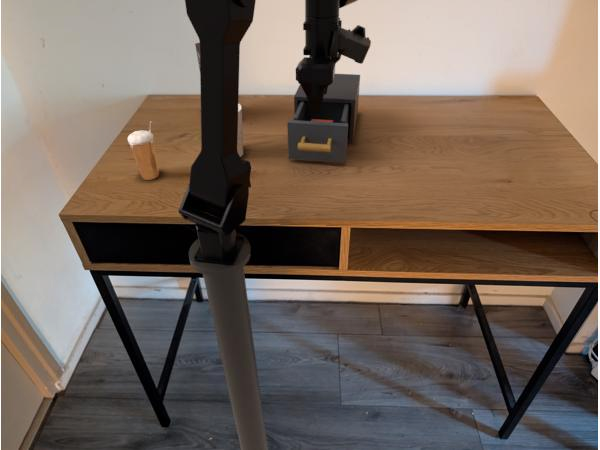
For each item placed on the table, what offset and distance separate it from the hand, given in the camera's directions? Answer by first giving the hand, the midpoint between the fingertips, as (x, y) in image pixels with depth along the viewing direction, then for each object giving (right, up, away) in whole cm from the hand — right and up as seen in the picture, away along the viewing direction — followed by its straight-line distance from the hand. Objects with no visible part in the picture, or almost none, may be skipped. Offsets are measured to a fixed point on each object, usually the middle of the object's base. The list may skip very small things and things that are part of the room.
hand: (320, 103), depth 83 cm
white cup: (-19, -9, +7) cm, 22 cm away
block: (0, -7, +6) cm, 9 cm away
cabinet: (+2, -1, +17) cm, 17 cm away
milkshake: (-33, -14, +1) cm, 35 cm away
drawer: (0, -8, +6) cm, 10 cm away
